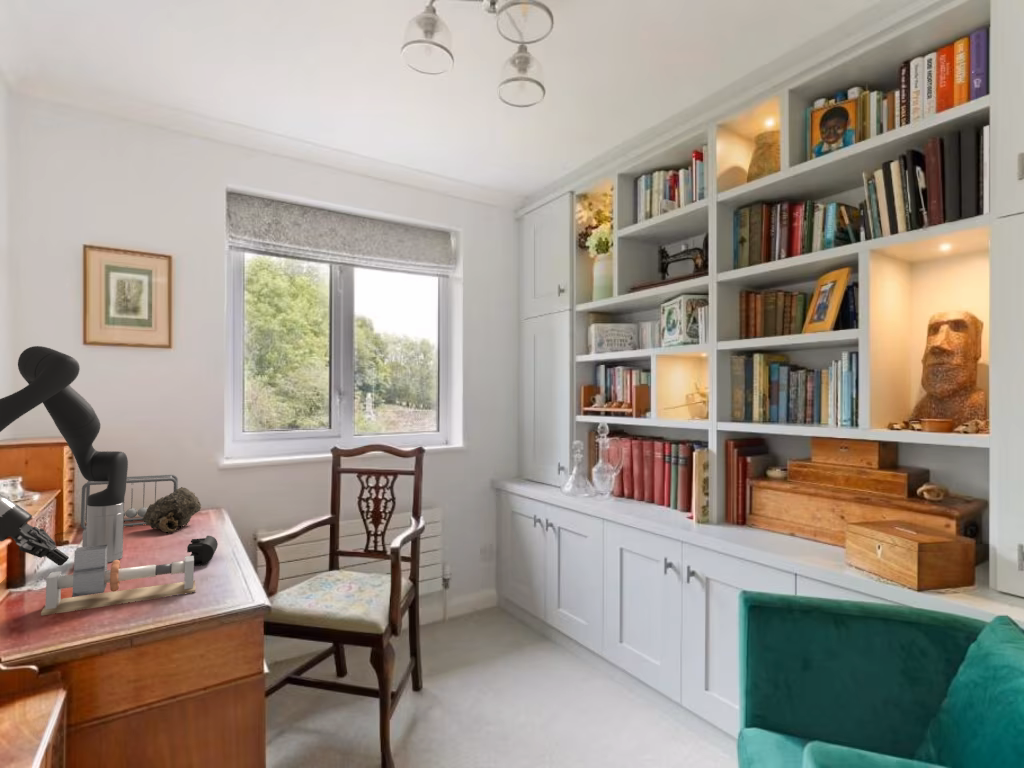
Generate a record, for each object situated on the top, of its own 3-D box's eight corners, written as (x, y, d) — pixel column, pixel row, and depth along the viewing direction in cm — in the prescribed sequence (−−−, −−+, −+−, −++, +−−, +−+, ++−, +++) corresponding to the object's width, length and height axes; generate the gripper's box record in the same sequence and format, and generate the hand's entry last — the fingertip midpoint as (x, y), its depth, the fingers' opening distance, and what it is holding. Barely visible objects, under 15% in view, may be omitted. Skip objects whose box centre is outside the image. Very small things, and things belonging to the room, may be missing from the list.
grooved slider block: (72, 597, 130) (73, 552, 130) (76, 589, 135) (77, 546, 136) (103, 592, 133) (104, 549, 134) (106, 585, 139) (107, 543, 139)
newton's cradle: (80, 531, 201) (81, 482, 201) (85, 524, 210) (86, 478, 210) (175, 522, 216) (177, 477, 216) (176, 517, 225) (178, 474, 225)
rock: (178, 480, 215) (182, 478, 203) (206, 505, 219) (211, 505, 207) (135, 516, 205) (136, 516, 193) (166, 541, 209) (168, 544, 197)
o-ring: (109, 595, 133) (110, 565, 134) (112, 585, 140) (113, 557, 140) (117, 594, 134) (118, 564, 134) (120, 584, 140) (121, 556, 141)
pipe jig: (45, 612, 128) (46, 578, 128) (49, 605, 132) (50, 572, 133) (193, 591, 144) (193, 560, 144) (192, 585, 148) (193, 555, 148)
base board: (41, 615, 127) (41, 612, 127) (48, 603, 133) (48, 600, 133) (195, 592, 143) (195, 589, 143) (194, 583, 149) (194, 580, 149)
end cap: (213, 565, 165) (214, 542, 165) (186, 567, 163) (187, 544, 163) (217, 555, 174) (218, 534, 175) (191, 557, 172) (192, 536, 172)
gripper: (6, 509, 122) (74, 556, 128) (21, 498, 133) (83, 542, 139) (-27, 536, 119) (44, 583, 125) (-9, 522, 130) (56, 566, 136)
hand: (65, 561), depth 132 cm, fingers closed
